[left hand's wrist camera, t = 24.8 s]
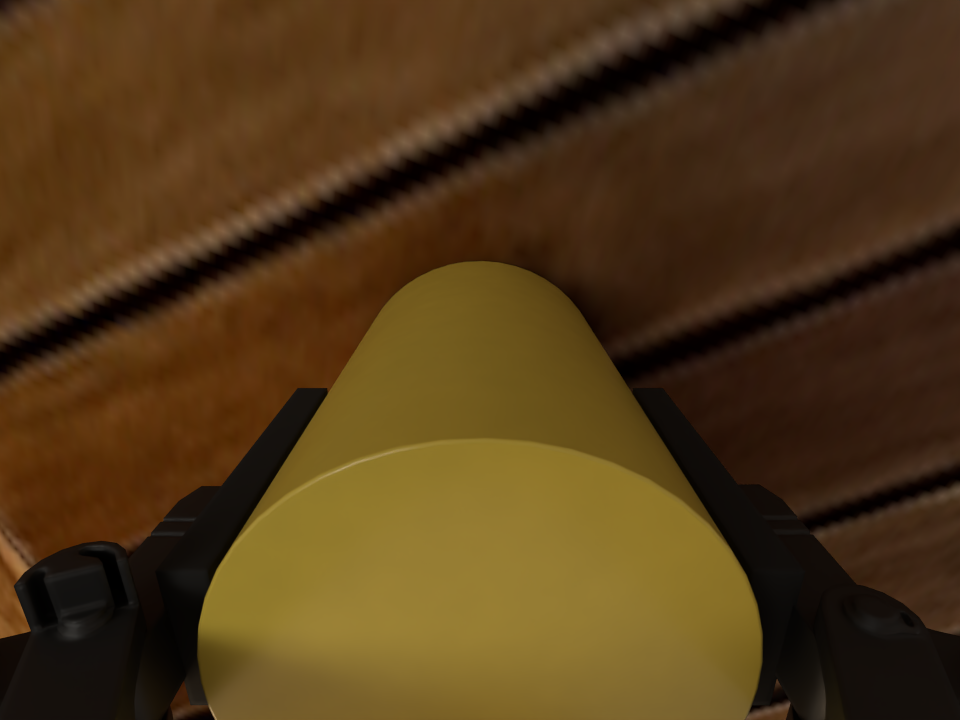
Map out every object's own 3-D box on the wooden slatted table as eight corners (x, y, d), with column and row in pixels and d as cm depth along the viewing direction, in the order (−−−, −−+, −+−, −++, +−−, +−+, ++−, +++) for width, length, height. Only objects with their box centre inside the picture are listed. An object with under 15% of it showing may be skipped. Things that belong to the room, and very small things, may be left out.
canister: (507, 207, 16) (557, 307, 6) (642, 400, 18) (857, 726, 8) (312, 356, 18) (72, 643, 7) (457, 516, 20) (434, 911, 10)
